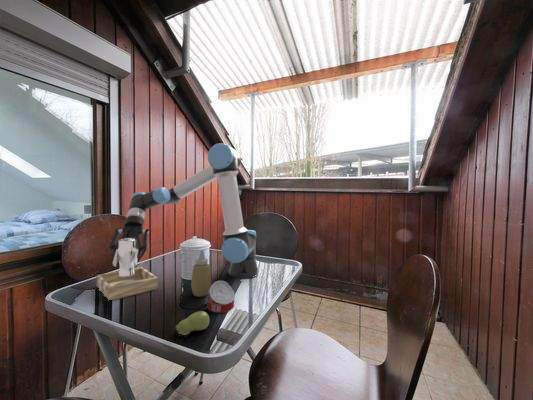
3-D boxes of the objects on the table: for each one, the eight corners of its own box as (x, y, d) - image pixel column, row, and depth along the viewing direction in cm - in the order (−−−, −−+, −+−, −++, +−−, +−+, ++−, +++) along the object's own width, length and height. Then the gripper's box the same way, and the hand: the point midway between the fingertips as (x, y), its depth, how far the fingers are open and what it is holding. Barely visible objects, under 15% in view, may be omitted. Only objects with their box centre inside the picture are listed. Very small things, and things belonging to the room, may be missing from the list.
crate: (157, 289, 105) (157, 277, 105) (108, 301, 92) (108, 288, 92) (141, 277, 117) (142, 267, 117) (96, 286, 104) (96, 275, 104)
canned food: (229, 313, 97) (242, 290, 97) (225, 324, 87) (240, 298, 87) (204, 298, 97) (217, 275, 98) (197, 307, 87) (212, 282, 88)
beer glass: (127, 278, 100) (128, 241, 100) (113, 276, 102) (114, 240, 101) (139, 273, 107) (140, 238, 107) (125, 271, 109) (126, 237, 108)
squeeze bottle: (214, 293, 103) (216, 250, 102) (200, 300, 96) (201, 254, 96) (201, 288, 107) (202, 247, 107) (186, 294, 100) (187, 250, 100)
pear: (211, 313, 75) (177, 327, 70) (213, 329, 76) (180, 344, 71) (204, 305, 80) (172, 318, 74) (206, 320, 81) (175, 334, 75)
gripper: (158, 224, 121) (151, 268, 106) (113, 224, 116) (99, 269, 101) (157, 215, 116) (150, 259, 101) (109, 214, 111) (94, 260, 96)
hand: (124, 264), depth 101 cm, fingers closed on beer glass, 7 cm apart
